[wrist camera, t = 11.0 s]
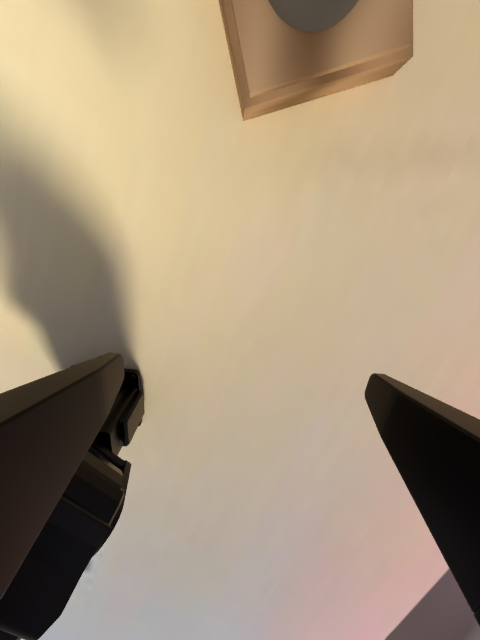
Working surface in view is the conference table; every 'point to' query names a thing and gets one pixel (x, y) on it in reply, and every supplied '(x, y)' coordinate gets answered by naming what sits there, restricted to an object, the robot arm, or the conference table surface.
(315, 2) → the bottle
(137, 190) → the conference table surface
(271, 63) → the plinth
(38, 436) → the robot arm
